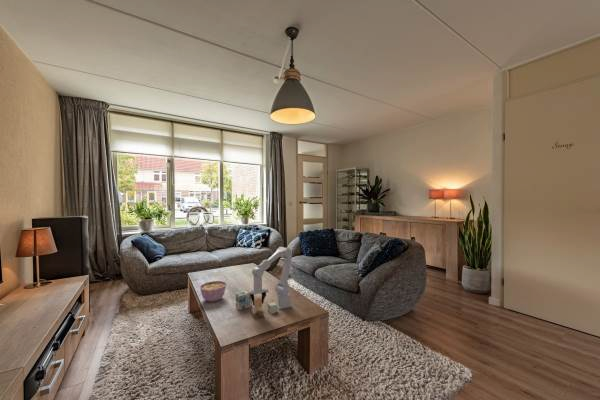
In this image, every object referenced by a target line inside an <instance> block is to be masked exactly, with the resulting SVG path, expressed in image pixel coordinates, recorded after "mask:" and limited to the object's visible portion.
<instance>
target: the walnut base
mask: <svg viewBox="0 0 600 400" xmlns="http://www.w3.org/2000/svg"><path fill="white" fill-rule="evenodd" d="M264 313H265V312H264V310H263V306H262V307H261V308H251V316H252V318H253V319H257V318H262V317H264Z"/></svg>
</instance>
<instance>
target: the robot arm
mask: <svg viewBox="0 0 600 400" xmlns="http://www.w3.org/2000/svg"><path fill="white" fill-rule="evenodd" d="M292 253H293V251H292V250H291V249H290V248H287V247H284V246H279V247H278V248H277V249H276V251H275V252H274V253H273V254H271V256H270V257H269V258H268V259H264V260H262V262H261V263H260V264H258V265H257V266H254V267H253V269H252V271H251V274H252V275H253V290H249V291H250V292H247V295H248V296H249V295H250V297H251V299H252V306H254V297H255V295H258V294H261V297H262V305H263V304H264V301H265V299H266V297H267V293H269V289H268V288H263V276H264V273H265V271H266V270H268V269H269V268H270V266H271V264H272V263H273V262H275V261H276V260H277V259H279V258H282V259H283V265H282V270H281V274H280V275H281V276H280V280H279V281H278V282H277V285H276V287H275V291H276V293H277V303H276V304H277V310H281V309H282V310H283V309H288V308H291V307H292V305H291V302H292V301H291V299H292V298H291V293H290V284H289V283H288V281H289V276H290V270H291V265H292V261H293V256H292Z"/></svg>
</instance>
